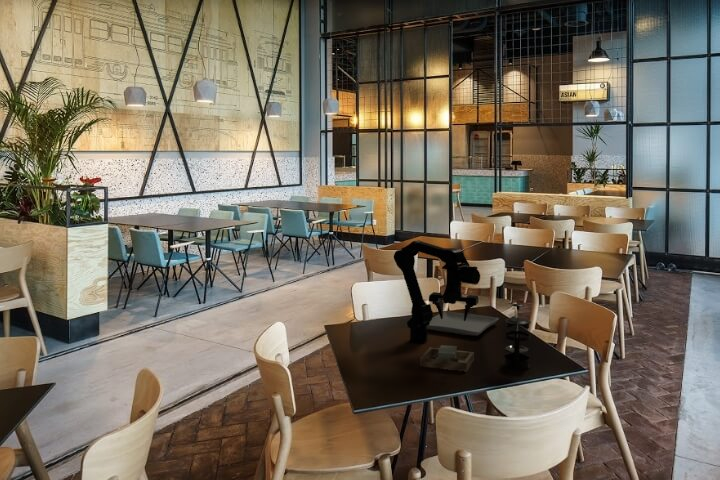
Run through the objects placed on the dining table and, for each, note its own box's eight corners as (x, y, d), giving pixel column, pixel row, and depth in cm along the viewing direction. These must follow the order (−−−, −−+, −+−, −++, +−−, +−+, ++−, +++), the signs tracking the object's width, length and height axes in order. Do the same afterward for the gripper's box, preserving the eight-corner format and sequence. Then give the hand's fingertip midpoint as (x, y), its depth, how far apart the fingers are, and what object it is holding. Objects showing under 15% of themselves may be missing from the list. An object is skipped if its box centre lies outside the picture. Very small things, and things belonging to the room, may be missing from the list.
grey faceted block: (438, 364, 215) (438, 352, 215) (440, 356, 224) (440, 345, 223) (454, 365, 214) (454, 353, 213) (456, 357, 223) (456, 346, 222)
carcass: (420, 366, 216) (420, 354, 216) (429, 355, 228) (430, 344, 228) (466, 372, 210) (466, 360, 209) (473, 360, 222) (474, 349, 221)
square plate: (499, 325, 271) (499, 316, 271) (479, 340, 248) (479, 331, 247) (444, 317, 285) (444, 309, 284) (420, 331, 262) (420, 323, 261)
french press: (529, 371, 210) (532, 308, 207) (502, 369, 212) (504, 307, 209) (529, 361, 221) (531, 300, 218) (503, 359, 223) (505, 299, 220)
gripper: (425, 283, 228) (424, 322, 230) (473, 287, 221) (472, 327, 223) (432, 278, 238) (432, 315, 240) (479, 281, 231) (478, 320, 233)
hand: (453, 320), depth 234 cm, fingers open, 9 cm apart
